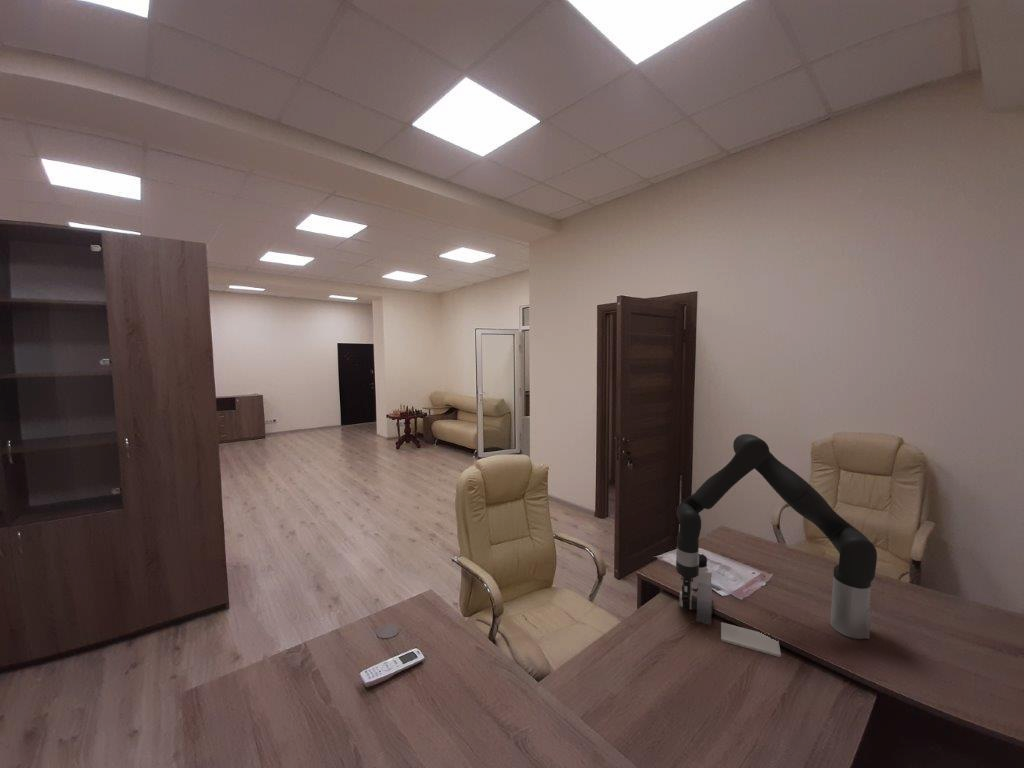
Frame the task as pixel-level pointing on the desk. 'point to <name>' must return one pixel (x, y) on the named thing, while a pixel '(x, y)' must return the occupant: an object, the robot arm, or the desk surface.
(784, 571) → the desk surface
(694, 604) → the plug bar
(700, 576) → the medicine bottle
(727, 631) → the mat
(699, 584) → the shaft block
